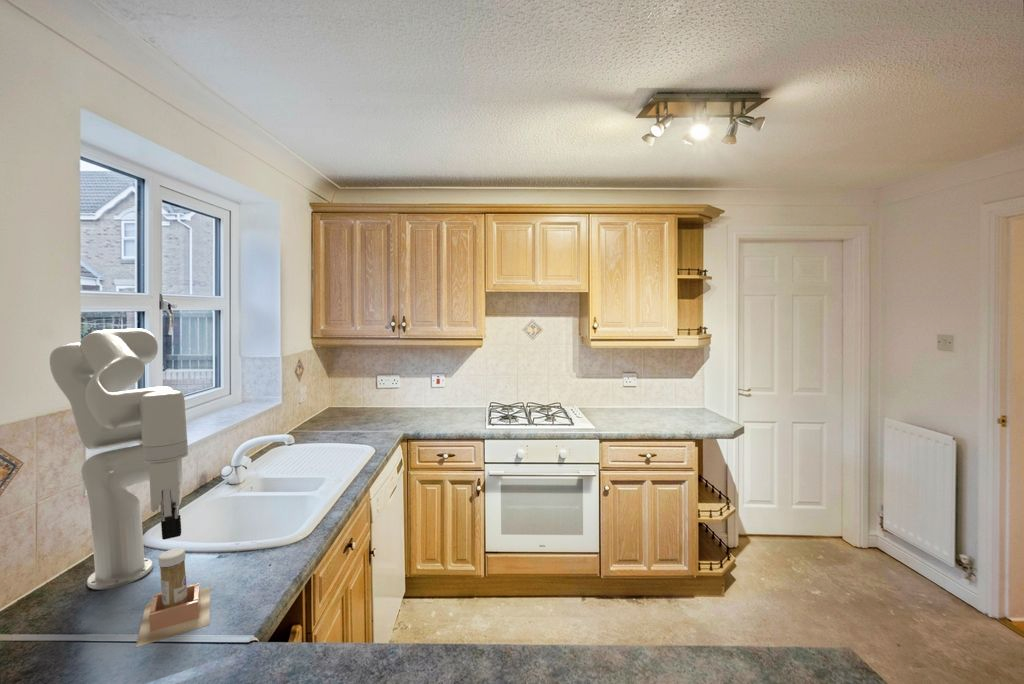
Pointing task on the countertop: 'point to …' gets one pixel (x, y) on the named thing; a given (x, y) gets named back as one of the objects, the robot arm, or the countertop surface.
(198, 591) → the collar
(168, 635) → the stand board
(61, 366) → the robot arm
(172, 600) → the sprinkles bottle
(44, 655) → the countertop surface
